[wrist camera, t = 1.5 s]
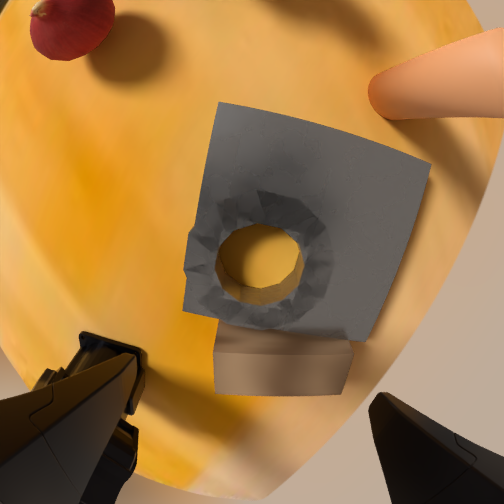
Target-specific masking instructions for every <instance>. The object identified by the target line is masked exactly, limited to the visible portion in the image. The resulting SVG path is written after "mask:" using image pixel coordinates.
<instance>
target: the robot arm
mask: <svg viewBox="0 0 504 504" xmlns="http://www.w3.org/2000/svg"><path fill="white" fill-rule="evenodd" d="M79 341H80V349H79V351H78V352H77V353H76V355H75V356H74V358H73V359H72V361H71V362H70V363H69V365H68V366H67V368H66V369H65V370H64V369H63V368H62V367H60V368H59V369H58V370H57V371H55V370H51V369H48V368H47V369H46V370H45V371H44V373H43V374H42V375H41V377H40V378H39V380H38V381H37V382H36V384H35V386H34V387H33V389H32V391H31V392H28V393H25V394H22V395H18V396H14V397H11V398H7V399H3V400H0V504H115V501H116V499H117V496H118V494H119V492H120V490H121V488H122V486H123V484H124V483H125V482H126V481H127V480H128V479H129V478H130V477H131V475H132V473H133V472H134V470H135V467H136V464H137V451H138V434H139V429H138V428H136V427H135V426H132V425H131V424H129V423H128V422H126V421H125V420H126V418H127V415H133V414H134V413H135V410H136V408H137V405H138V403H139V400H140V397H141V395H142V392H143V390H144V387H145V371H144V369H143V368H142V355H141V350H140V349H139V348H137V347H133V346H130V345H126V344H123V343H119V342H116V341H113V340H109V339H106V338H103V337H100V336H97V335H94V334H91V333H88V332H85V331H82V332H81V333H80V334H79ZM135 352H136V353H135ZM368 412H369V418H370V423H371V429H372V434H373V439H374V443H375V446H376V450H377V453H378V456H379V460H380V463H381V467H382V470H383V473H384V477H385V480H386V484H387V488H388V491H389V495H390V498H391V502H392V504H504V457H503V456H501V455H499V454H496V453H494V452H492V451H490V450H487V449H485V448H483V447H481V446H479V445H477V444H475V443H473V442H471V441H469V440H467V439H465V438H464V437H462V436H460V435H458V434H456V433H453V432H452V431H451V430H449V429H447V428H446V427H444V426H442V425H440V424H439V423H437V422H435V421H434V420H432V419H430V418H429V417H427V416H425V415H424V414H422V413H420V412H419V411H417V410H416V409H414V408H412V407H411V406H409V405H407V404H406V403H404V402H402V401H401V400H399V399H397V398H396V397H395V396H393V395H391V394H390V393H388V392H380V393H378V394H377V395H376V397H375V399H374V400H373V401H372V403H371V404H370V406H369V410H368Z"/></svg>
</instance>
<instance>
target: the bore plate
mask: <svg viewBox="0 0 504 504" xmlns="http://www.w3.org/2000/svg"><path fill="white" fill-rule="evenodd" d="M430 168H431V164H430V163H428V162H425V161H423V160H421V159H418V158H416V157H413V156H411V155H408V154H406V153H403V152H401V151H398V150H396V149H393V148H390V147H388V146H385V145H382V144H380V143H377V142H374V141H371V140H368V139H365V138H362V137H359V136H356V135H353V134H350V133H347V132H344V131H341V130H337V129H334V128H331V127H327V126H324V125H320V124H317V123H313V122H310V121H306V120H302V119H298V118H294V117H290V116H286V115H282V114H278V113H273V112H269V111H264V110H260V109H255V108H250V107H245V106H240V105H234V104H229V103H223V102H219V103H218V107H217V112H216V116H215V121H214V125H213V130H212V135H211V139H210V144H209V149H208V154H207V159H206V164H205V170H204V175H203V180H202V186H201V191H200V197H199V202H198V208H197V214H196V220H195V224H194V226H193V227H192V229H191V230H190V232H189V234H188V241H187V248H186V255H185V262H184V269H183V270H184V272H185V274H186V277H187V280H186V288H185V296H184V304H183V311H185V312H189V313H194V314H198V315H203V316H208V317H213V318H217V319H221V320H222V321H223V322H225V323H226V324H230V325H235V326H240V327H246V328H251V329H256V330H266V329H270V328H271V329H276V330H282V331H289V332H295V333H301V334H308V335H315V336H321V337H329V338H336V339H344V340H352V341H360V342H366V340H367V338H368V336H369V334H370V332H371V330H372V328H373V326H374V324H375V321H376V319H377V317H378V315H379V313H380V310H381V308H382V306H383V304H384V301H385V299H386V297H387V294H388V292H389V290H390V287H391V285H392V282H393V280H394V278H395V275H396V272H397V270H398V267H399V265H400V262H401V260H402V257H403V254H404V251H405V249H406V246H407V243H408V240H409V237H410V235H411V232H412V229H413V226H414V223H415V220H416V217H417V213H418V210H419V207H420V204H421V200H422V197H423V194H424V190H425V187H426V183H427V179H428V176H429V172H430ZM257 223H259V224H264V225H268V226H273V227H277V228H282V229H283V230H284V231H285V232H286V233H287V234H288V235H289V236H290V237H292V238H293V239H294V240H295V241H296V242H297V244H298V248H299V255H298V258H297V262H296V265H295V269H294V270H293V271H292V272H291V273H290V274H289V275H288V276H287V277H286V278H285V279H284V280H283V281H282V282H281V283H280V284H276V285H272V286H269V287H265V288H262V289H259V288H254V287H249V286H244V285H241V284H239V283H238V282H237V281H236V280H234V279H233V278H232V277H231V276H229V275H228V274H227V273H226V272H225V269H224V267H223V264H222V261H221V259H220V256H219V251H220V246H221V244H222V243H223V242H224V241H225V240H226V239H227V237H228V236H229V235H230V234H231V233H232V232H233V231H234V230H237V229H240V228H243V227H247V226H250V225H253V224H257Z"/></svg>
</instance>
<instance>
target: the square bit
mask: <svg viewBox="0 0 504 504" xmlns="http://www.w3.org/2000/svg"><path fill="white" fill-rule="evenodd" d="M353 356H354V352H353V350H352V347H351V345H350V342H349V340H344V339H336V338H329V337H321V336H315V335H308V334H301V333H295V332H289V331H282V330H276V329H271V328H270V329H266V330H256V329H251V328H246V327H240V326H235V325H230V324H226V323H225V322H223V321H222V320H221V319H219V323H218V328H217V334H216V339H215V344H214V350H213V362H214V382H215V394H228V395H247V396H321V395H340V394H341V393H342V390H343V387H344V384H345V381H346V378H347V375H348V372H349V369H350V366H351V363H352V359H353Z"/></svg>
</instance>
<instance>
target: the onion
mask: <svg viewBox="0 0 504 504" xmlns="http://www.w3.org/2000/svg"><path fill="white" fill-rule="evenodd" d="M30 16H31V17H32V18H31V24H30V35H31V38H32V42H33V45H34V47H35V48H36V50H37V51H38V52H40V53H41V54H43V55H44V56H46V57H47V58H49V59H51V60H62V61H70V60H73V59H76V58H79V57H81V56H84V55H86V54H87V53H89V52H90V51H92V50H93V49H95V48H96V47H98V45H99V44H100V43H101V42H102V41H103V40H104V39H105V38H106V37H107V35H108V33H109V32H110V30H111V28H112V26H113V22H114V16H115V6H114V3H113V1H112V0H41V1H39V2H37V3H36V4H35V5H34V6H33V8H32V10H31V14H30Z"/></svg>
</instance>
